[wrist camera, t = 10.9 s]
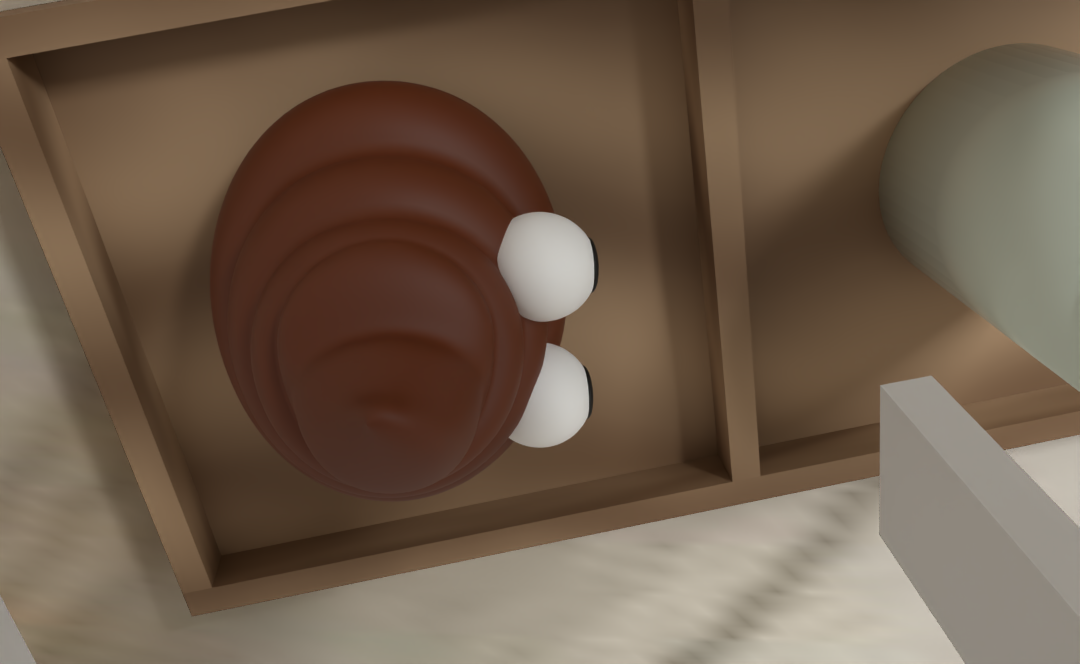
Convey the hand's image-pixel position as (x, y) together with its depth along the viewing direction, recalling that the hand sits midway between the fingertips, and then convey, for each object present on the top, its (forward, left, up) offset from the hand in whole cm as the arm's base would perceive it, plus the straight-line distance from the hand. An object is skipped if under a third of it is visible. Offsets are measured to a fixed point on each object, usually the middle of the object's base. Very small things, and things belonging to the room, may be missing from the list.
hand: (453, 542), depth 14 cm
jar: (0, +15, -12) cm, 19 cm away
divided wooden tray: (0, +7, -12) cm, 14 cm away
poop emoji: (0, -1, -12) cm, 12 cm away
